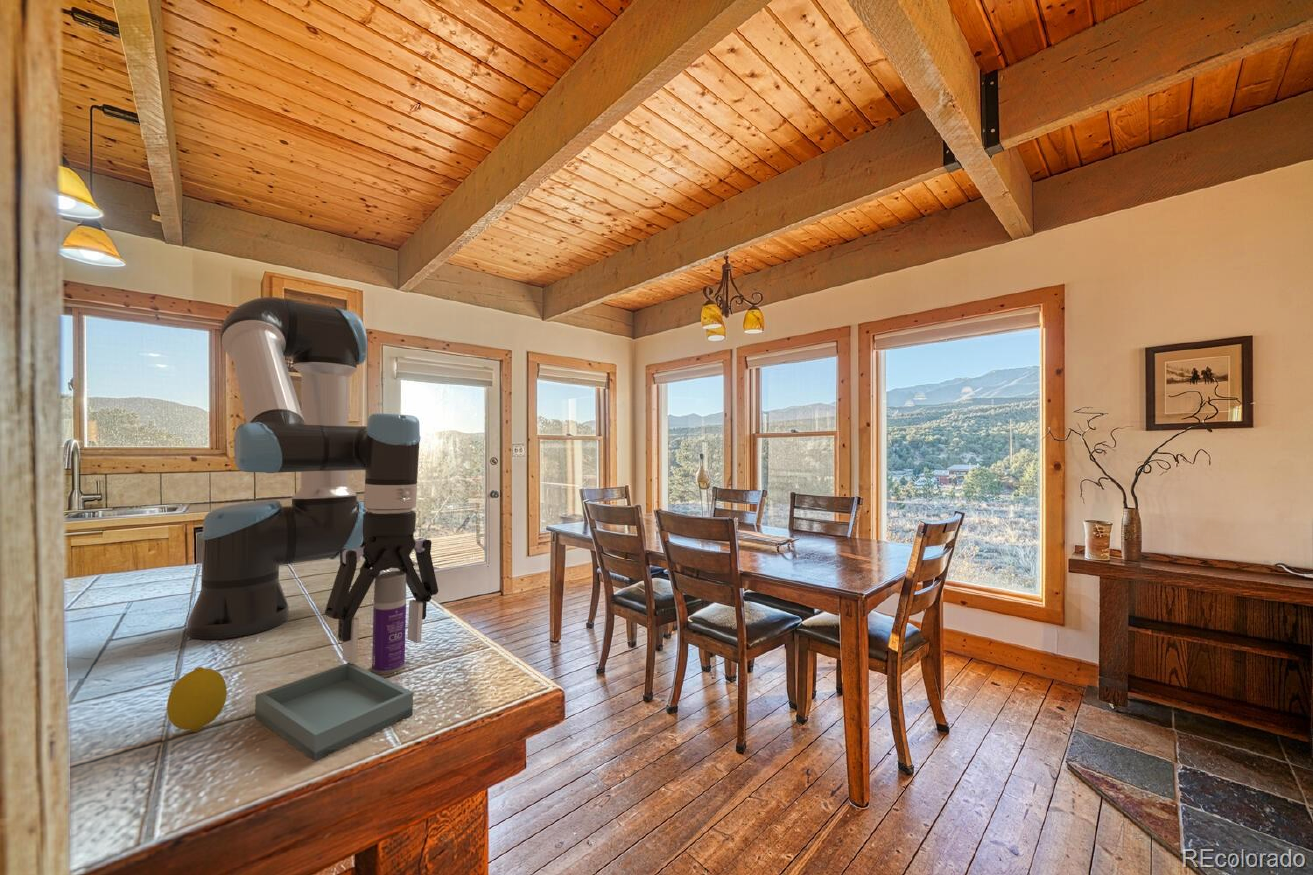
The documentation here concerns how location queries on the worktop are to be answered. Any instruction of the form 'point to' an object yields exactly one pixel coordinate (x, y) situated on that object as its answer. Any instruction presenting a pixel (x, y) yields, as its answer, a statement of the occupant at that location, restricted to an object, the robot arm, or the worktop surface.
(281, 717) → the tray
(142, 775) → the worktop surface
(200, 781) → the worktop surface
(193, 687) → the lemon
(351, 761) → the worktop surface
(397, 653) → the container
